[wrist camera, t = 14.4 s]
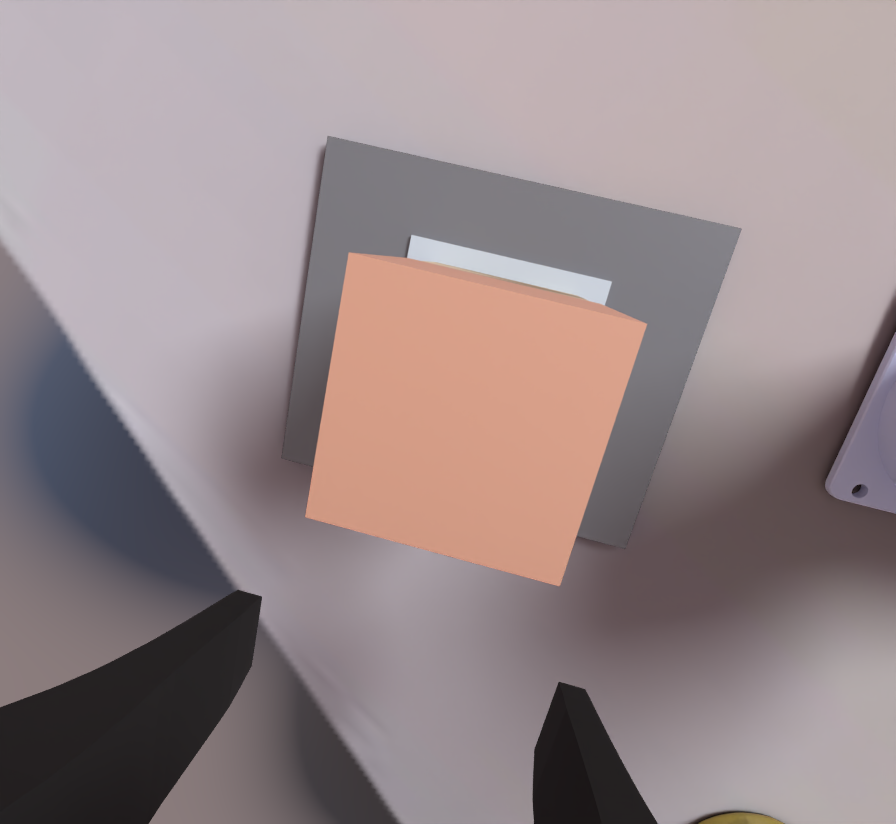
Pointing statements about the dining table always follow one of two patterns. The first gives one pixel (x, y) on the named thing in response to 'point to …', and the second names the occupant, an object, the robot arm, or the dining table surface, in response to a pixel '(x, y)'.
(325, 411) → the terracotta block
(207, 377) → the dining table surface
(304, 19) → the dining table surface
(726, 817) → the vase
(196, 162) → the dining table surface
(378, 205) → the baseplate
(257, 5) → the dining table surface
